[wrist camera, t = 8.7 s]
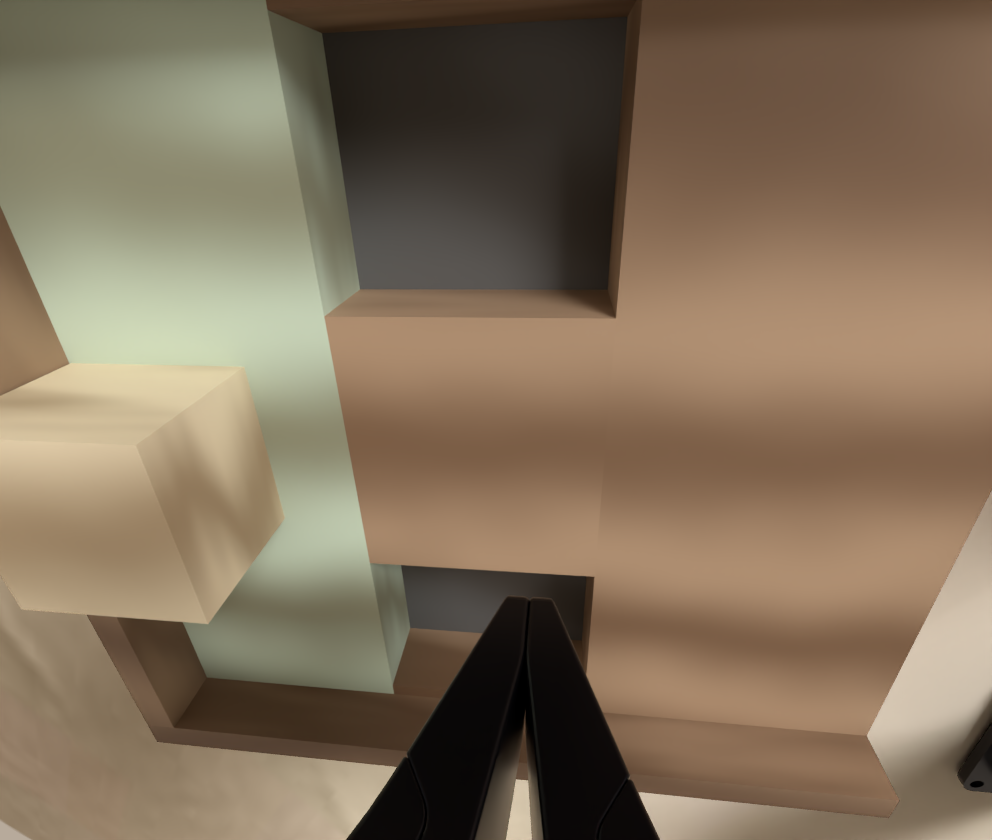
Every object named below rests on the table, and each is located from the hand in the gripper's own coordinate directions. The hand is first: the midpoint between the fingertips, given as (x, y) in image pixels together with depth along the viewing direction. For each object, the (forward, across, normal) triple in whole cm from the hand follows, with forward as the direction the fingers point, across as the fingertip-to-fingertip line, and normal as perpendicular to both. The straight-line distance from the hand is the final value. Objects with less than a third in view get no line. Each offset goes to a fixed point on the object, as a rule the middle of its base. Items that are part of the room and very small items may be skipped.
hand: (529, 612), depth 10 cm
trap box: (+8, +1, 0) cm, 8 cm away
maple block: (+5, +10, 0) cm, 12 cm away
